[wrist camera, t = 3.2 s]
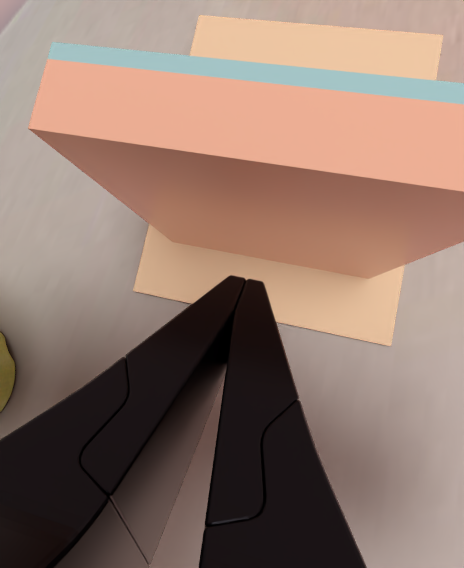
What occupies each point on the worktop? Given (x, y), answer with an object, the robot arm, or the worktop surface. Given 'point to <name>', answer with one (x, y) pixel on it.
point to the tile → (264, 154)
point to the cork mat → (280, 276)
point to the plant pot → (5, 373)
